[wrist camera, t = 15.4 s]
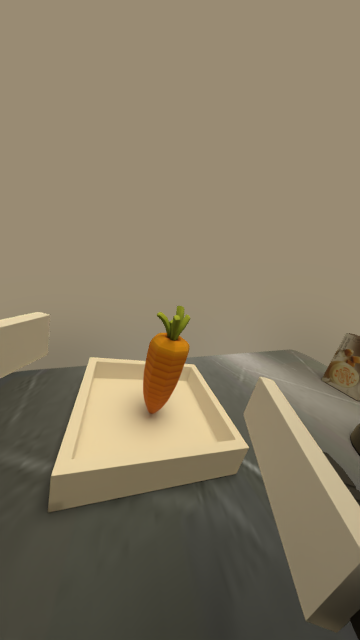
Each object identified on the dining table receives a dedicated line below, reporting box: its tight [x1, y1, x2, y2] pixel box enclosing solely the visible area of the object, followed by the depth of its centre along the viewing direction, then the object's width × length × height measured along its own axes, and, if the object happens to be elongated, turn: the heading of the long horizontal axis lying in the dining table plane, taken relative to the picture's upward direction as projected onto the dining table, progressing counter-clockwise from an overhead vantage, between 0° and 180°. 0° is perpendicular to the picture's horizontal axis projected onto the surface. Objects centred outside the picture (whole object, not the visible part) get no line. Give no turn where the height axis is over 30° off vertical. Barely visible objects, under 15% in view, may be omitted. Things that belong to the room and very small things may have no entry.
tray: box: [48, 357, 249, 512], centre depth 23 cm, size 18×16×4 cm
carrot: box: [143, 306, 190, 414], centre depth 21 cm, size 5×5×15 cm
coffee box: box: [321, 333, 360, 401], centre depth 49 cm, size 9×6×16 cm
